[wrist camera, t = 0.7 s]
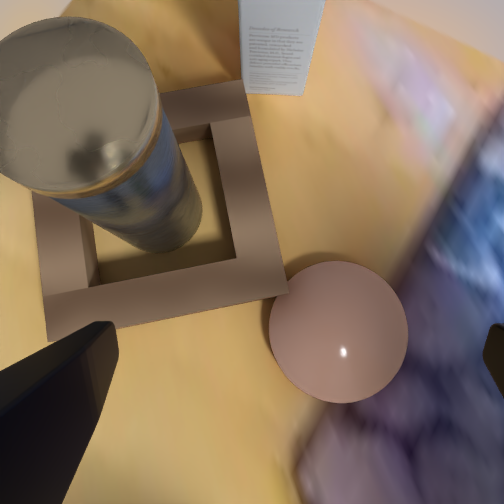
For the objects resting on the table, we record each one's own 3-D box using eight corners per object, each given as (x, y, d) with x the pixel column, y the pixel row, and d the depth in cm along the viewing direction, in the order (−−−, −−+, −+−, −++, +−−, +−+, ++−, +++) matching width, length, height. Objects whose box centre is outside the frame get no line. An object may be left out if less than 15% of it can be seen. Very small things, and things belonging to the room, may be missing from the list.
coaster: (365, 426, 21) (370, 430, 20) (244, 355, 21) (243, 356, 20) (424, 303, 22) (431, 303, 21) (307, 239, 22) (310, 236, 22)
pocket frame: (286, 294, 22) (289, 292, 20) (64, 339, 21) (47, 342, 19) (243, 96, 24) (242, 79, 22) (40, 132, 23) (24, 117, 22)
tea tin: (173, 271, 22) (86, 222, 10) (97, 226, 22) (-73, 131, 11) (220, 194, 23) (189, 67, 11) (145, 153, 23) (38, -12, 11)
